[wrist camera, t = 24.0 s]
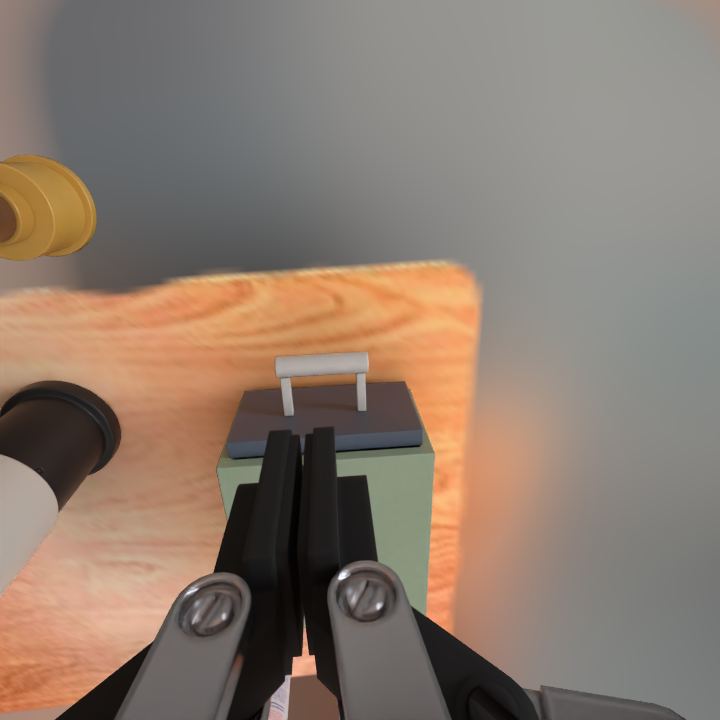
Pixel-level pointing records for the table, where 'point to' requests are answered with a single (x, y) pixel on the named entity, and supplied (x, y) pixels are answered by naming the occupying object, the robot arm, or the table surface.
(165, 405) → the table surface
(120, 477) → the table surface
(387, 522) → the cabinet
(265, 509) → the robot arm
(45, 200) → the bell
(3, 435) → the light fixture
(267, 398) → the drawer
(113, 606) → the table surface
